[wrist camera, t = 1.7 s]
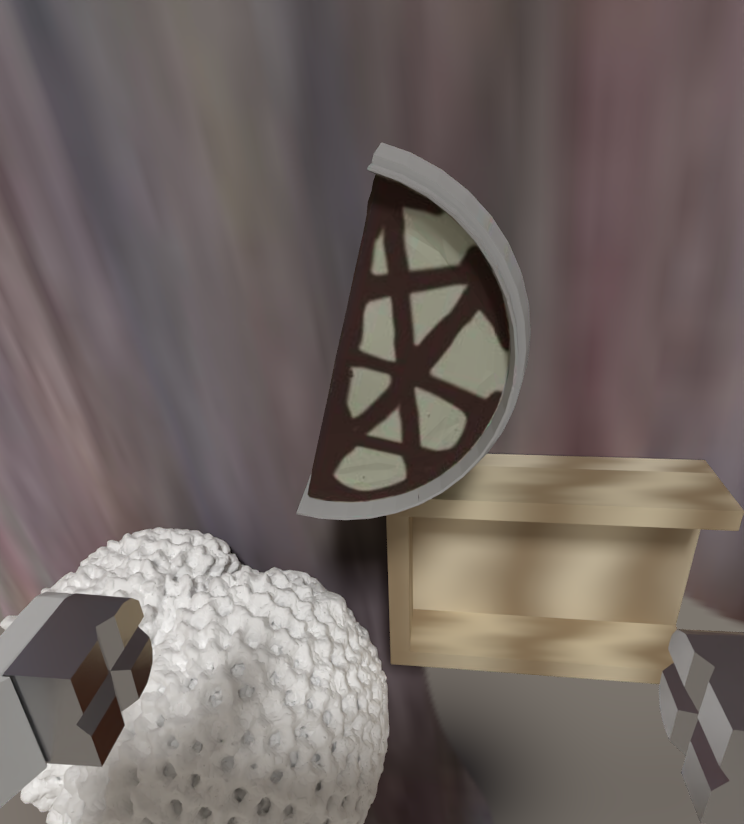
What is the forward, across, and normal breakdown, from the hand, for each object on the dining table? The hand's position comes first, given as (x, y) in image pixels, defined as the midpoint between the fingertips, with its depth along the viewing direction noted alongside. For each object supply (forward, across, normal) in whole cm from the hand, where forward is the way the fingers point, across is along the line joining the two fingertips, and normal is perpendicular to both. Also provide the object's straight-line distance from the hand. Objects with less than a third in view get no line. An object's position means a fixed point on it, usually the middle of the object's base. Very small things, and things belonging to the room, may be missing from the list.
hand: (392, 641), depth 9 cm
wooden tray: (+19, -6, +13) cm, 24 cm away
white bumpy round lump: (+20, +11, +20) cm, 30 cm away
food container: (+20, 0, 0) cm, 20 cm away
